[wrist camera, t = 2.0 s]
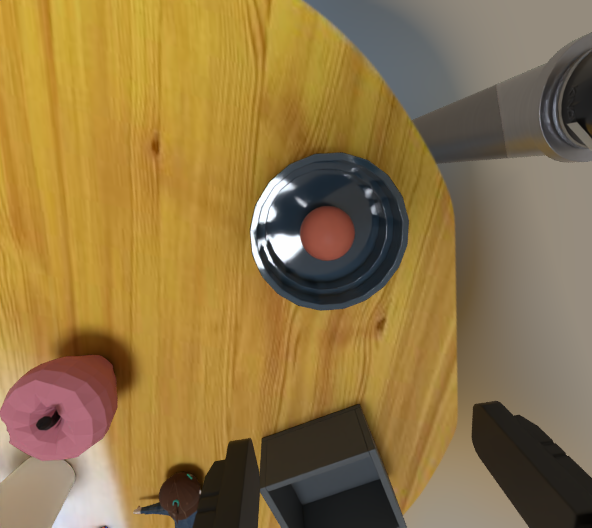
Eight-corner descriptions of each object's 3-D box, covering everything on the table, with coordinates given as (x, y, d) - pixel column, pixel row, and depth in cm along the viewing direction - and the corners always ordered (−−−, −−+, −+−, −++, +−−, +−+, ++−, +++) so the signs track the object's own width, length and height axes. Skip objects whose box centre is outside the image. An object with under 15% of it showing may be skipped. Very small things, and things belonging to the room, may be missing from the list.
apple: (48, 336, 33) (-46, 402, 23) (128, 330, 33) (67, 392, 24) (72, 406, 36) (-4, 491, 26) (145, 400, 36) (96, 481, 26)
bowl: (366, 134, 29) (383, 125, 24) (403, 263, 33) (424, 278, 28) (232, 188, 29) (223, 190, 25) (285, 308, 34) (286, 330, 29)
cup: (96, 490, 40) (22, 619, 28) (31, 504, 40) (-70, 638, 28) (67, 439, 37) (-28, 558, 25) (-3, 454, 37) (-129, 579, 25)
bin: (359, 403, 38) (375, 448, 32) (388, 475, 42) (407, 529, 35) (261, 438, 39) (258, 489, 32) (298, 506, 43) (302, 563, 36)
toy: (252, 526, 44) (232, 457, 39) (249, 567, 40) (227, 495, 35) (159, 540, 44) (127, 472, 39) (146, 583, 40) (108, 513, 34)
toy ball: (338, 195, 30) (350, 199, 25) (354, 242, 31) (368, 255, 26) (290, 214, 30) (293, 222, 25) (308, 260, 32) (314, 275, 27)
